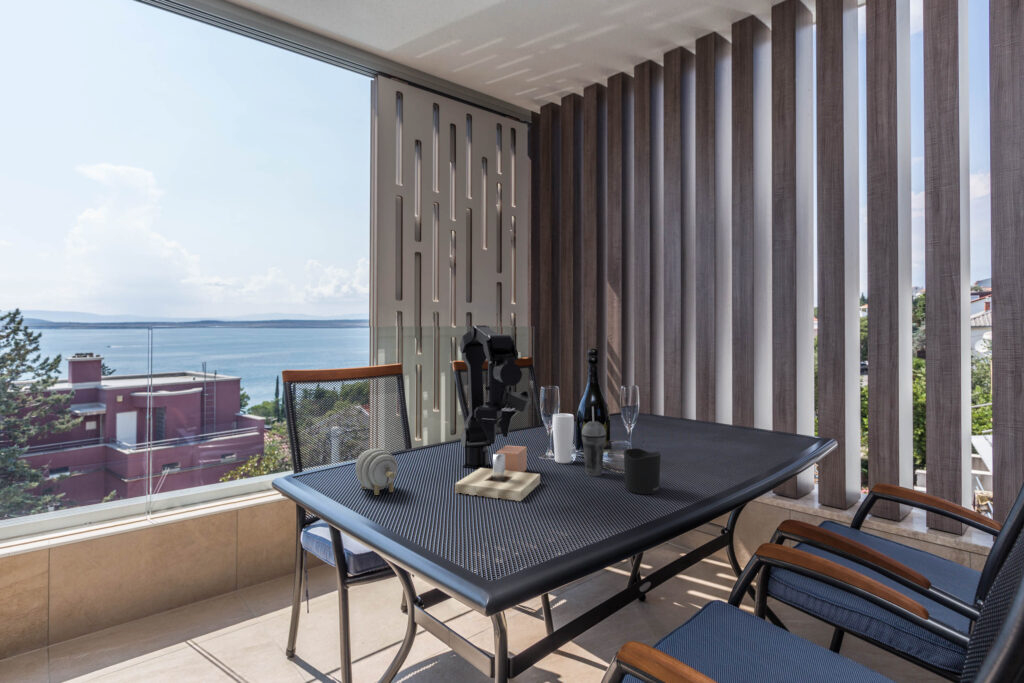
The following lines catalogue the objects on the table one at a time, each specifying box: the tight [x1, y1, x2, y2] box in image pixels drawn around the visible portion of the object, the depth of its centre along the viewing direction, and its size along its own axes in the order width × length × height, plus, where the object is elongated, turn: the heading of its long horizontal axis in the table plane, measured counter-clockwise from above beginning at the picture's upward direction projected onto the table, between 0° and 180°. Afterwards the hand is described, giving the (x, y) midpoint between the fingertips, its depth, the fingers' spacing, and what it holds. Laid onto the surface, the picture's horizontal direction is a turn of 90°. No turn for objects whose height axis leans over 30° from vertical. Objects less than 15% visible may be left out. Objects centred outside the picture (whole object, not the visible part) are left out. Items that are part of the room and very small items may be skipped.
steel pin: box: [492, 453, 505, 482], centre depth 140 cm, size 3×3×9 cm
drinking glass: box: [551, 412, 575, 464], centre depth 167 cm, size 7×7×15 cm
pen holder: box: [623, 448, 662, 495], centre depth 139 cm, size 9×9×10 cm
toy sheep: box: [354, 448, 399, 496], centre depth 138 cm, size 11×17×11 cm, turn 46°
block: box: [496, 444, 528, 472], centre depth 155 cm, size 6×9×7 cm
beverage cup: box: [581, 406, 608, 477], centre depth 153 cm, size 7×7×20 cm
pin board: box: [454, 467, 541, 502], centre depth 140 cm, size 18×16×2 cm
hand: (498, 440), depth 140 cm, fingers open, 9 cm apart
